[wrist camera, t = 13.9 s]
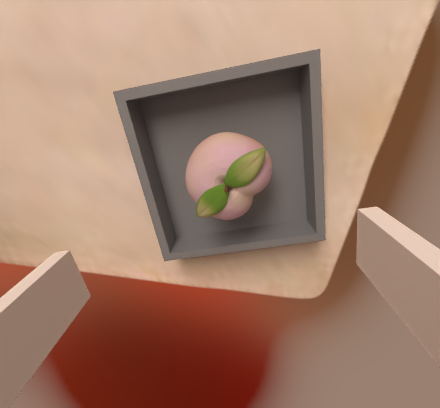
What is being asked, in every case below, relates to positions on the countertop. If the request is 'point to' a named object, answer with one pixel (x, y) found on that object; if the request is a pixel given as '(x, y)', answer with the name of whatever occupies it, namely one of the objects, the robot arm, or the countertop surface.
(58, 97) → the countertop surface
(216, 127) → the bin
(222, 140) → the decorative fruit
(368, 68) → the countertop surface
